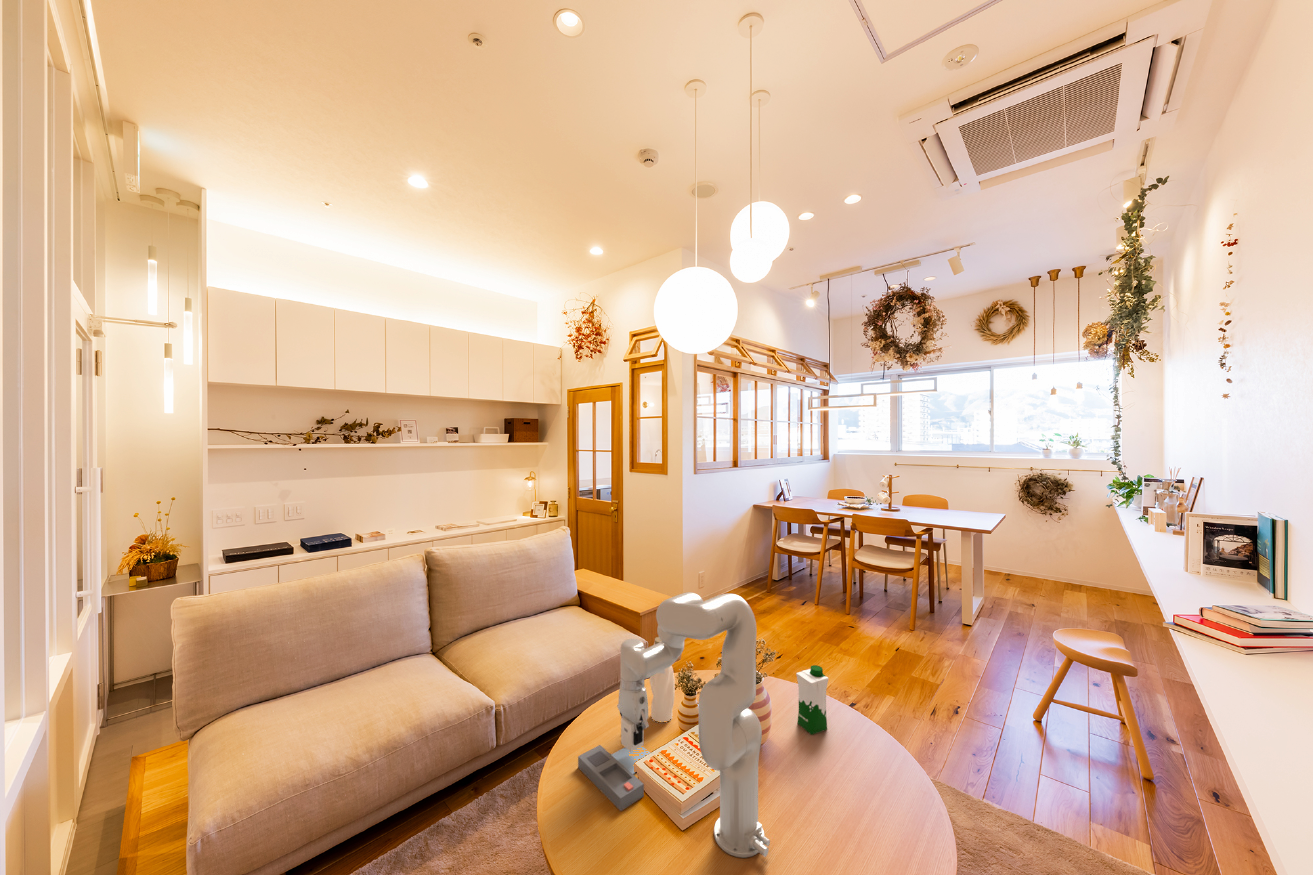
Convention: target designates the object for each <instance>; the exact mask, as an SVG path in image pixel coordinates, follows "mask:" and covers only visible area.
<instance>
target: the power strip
mask: <svg viewBox="0 0 1313 875" xmlns="http://www.w3.org/2000/svg"><path fill="white" fill-rule="evenodd" d="M577 765H578V766H577V768H578V769H579V770H580V771H581V772H582V774H584V775H585V777H587V779H589V780H590V781H591V782H592V784H594V785H595V787H596V788H598V790H599V791H601V793H602V794H603V795H604V796H605V797H606V798H607V799H608V800H609V801H610V802H611V803H612V804H613V805H614V807H616V808H617V809H618V810H619V811H620V812H623V810H625V809H627V808H628V807H630V806H631V805H633V804H634V803H636V802H637V801H638V800H641V798H644V797H645V794H644V793H645V792H644V791H645V790H644V789H645V787H644V786H645V784H644V782H642V781H641V780H640V779H639V778H638V777H637V776H635V774H634V775H633V774H632V773H631V772H630V771H629V770H628V769H626V768H625V767H624V766H623V765H622V764H621V763H620V762H619V761H618V760H616V759H615V758H614V757H613V756H612V753H610V752H608V750H606V749H605V747H604V746H602V745H601V744H598V745H597V746H595V747H593V748H591V749H589V750H588V751H586V752H583V753H581V754H580V755H578V756H577Z"/></svg>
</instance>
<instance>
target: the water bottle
mask: <svg viewBox="0 0 1313 875" xmlns="http://www.w3.org/2000/svg"><path fill="white" fill-rule="evenodd" d="M660 641H661V639H660V638H659V636H657V637H655V638H654V643H653V645H655V644H658V643H659V642H660ZM649 684H650V690H651V693H652V700H651V707H650V709H651V710H650V712H651V713H650V718H651V717H652V718H651V719H654V720H655V721H659V722H660V721H661V722H664V721H669V720H670V719H671V720H672V719H673V717H672V716H673V708H674V703H675V688H676V686H675V674H674V668H673V666H672V665H671V666H670V667H668V668H666V669H664V670H662V671H660V672H658V673H656V674H655V675H653V676H651V677H649ZM654 720H653V721H654ZM671 720H670V721H671ZM655 721H654V722H655ZM670 721H669V722H670Z"/></svg>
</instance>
